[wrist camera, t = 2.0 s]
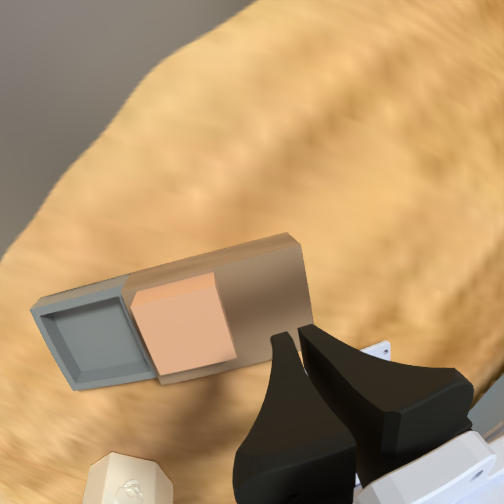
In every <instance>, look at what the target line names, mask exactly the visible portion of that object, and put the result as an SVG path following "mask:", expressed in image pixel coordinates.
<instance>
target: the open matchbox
mask: <svg viewBox="0 0 504 504" xmlns="http://www.w3.org/2000/svg"><path fill="white" fill-rule="evenodd" d="M211 272H214V276H215V279H216V283H217V286H218V290H219V293H220V297H221V300H222V304H223V307H224V310H225V314H226V317H227V321H228V324H229V327H230V331H231V334H232V337H233V341H234V346H235V351H236V356H237V358H235V359H231V360H227V361H223V362H219V363H215V364H210V365H206V366H202V367H198V368H193V369H189V370H184V371H179V372H175V373H170V374H165V375H160V374H159V372H158V370H157V367H156V365H155V363H154V361H153V359H152V357H151V354H150V352H149V350H148V348H147V345H146V343H145V341H144V339H143V336H142V334H141V332H140V329H139V327H138V324H137V322H136V320H135V317H134V315H133V312H132V310H131V305H132V302H133V300H134V297H135V295H136V293H137V291H141V290H145V289H149V288H153V287H157V286H161V285H165V284H169V283H173V282H176V281H180V280H184V279H188V278H192V277H196V276H200V275H203V274H207V273H211ZM120 292H121V294H122V297H123V299H124V302H125V304H126V307H127V309H128V312H129V314H130V317H131V319H132V322H133V324H134V326H135V329H136V331H137V333H138V336H139V338H140V340H141V343H142V345H143V347H144V349H145V352H146V354H147V356H148V358H149V360H150V362H151V365H152V367H153V369H154V371H155V373H156V375H157V377H158V379H159V381H160V383H161V385H166V384H171V383H176V382H181V381H186V380H190V379H195V378H199V377H204V376H208V375H213V374H217V373H221V372H225V371H229V370H233V369H237V368H241V367H245V366H249V365H252V364H256V363H260V362H263V361H267V360H271V359H272V346H271V342H270V338H271V336H272V335H275V334H278V333H282V332H285V331H287V332H288V333H289V334H290V335H291V337H292V338H293V341H294V343H295V346H296V349H297V351H301V346H300V341H299V335H298V330H297V328H299V327H302V326H305V325H309V324H313V325H314V322H313V315H312V309H311V302H310V296H309V290H308V284H307V278H306V272H305V266H304V260H303V254H302V249H301V244H300V243H298V242H297V241H296V240H295V239H294V238H293V237H292V236H291V235H289V234H288V233H287V232H286V233H283V234H279V235H275V236H271V237H267V238H263V239H259V240H255V241H251V242H247V243H244V244H240V245H236V246H232V247H228V248H224V249H221V250H217V251H213V252H209V253H205V254H201V255H198V256H194V257H190V258H186V259H182V260H179V261H175V262H171V263H167V264H163V265H160V266H156V267H152V268H148V269H145V270H141V271H137V272H133V273H130V275H129V277H128V279H127V280H126V282H125V284H124V286H123V288H122V290H121V291H120Z"/></svg>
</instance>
